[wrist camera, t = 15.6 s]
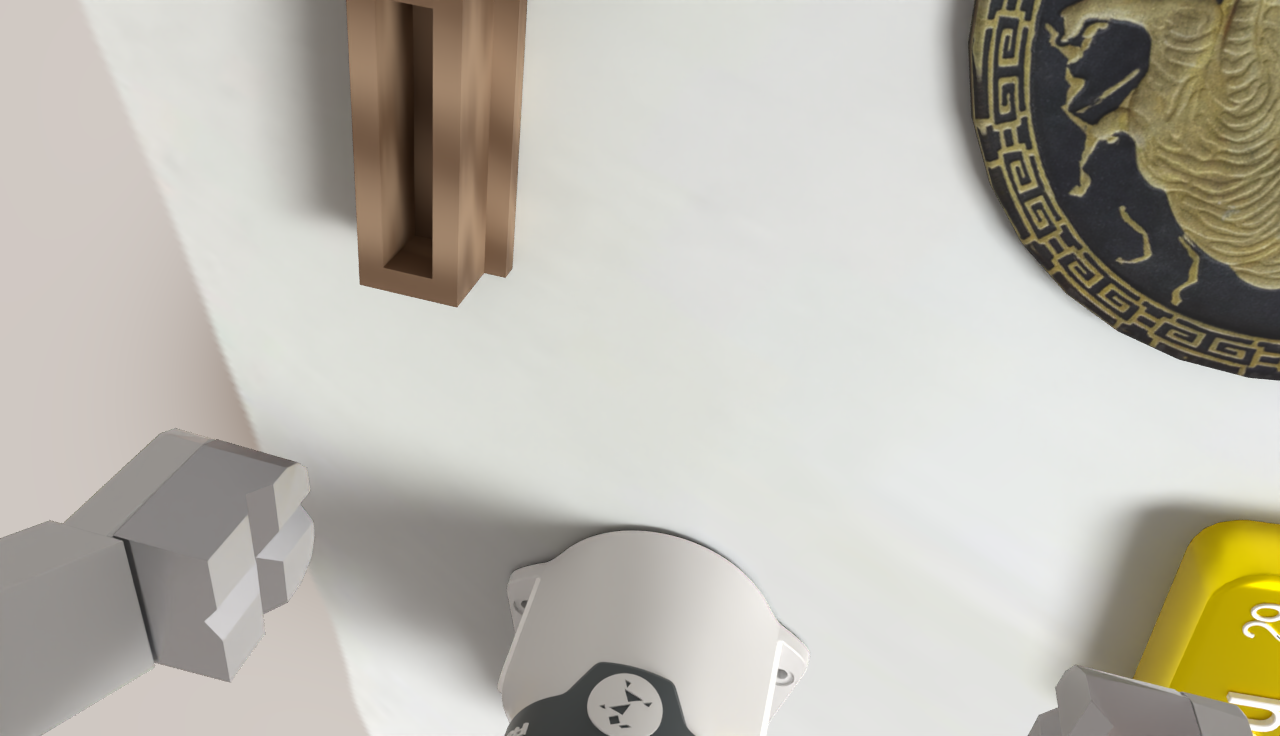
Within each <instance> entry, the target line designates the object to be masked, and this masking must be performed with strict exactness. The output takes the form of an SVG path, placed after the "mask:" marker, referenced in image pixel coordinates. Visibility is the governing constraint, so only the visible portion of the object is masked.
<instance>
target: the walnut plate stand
mask: <svg viewBox="0 0 1280 736" xmlns="http://www.w3.org/2000/svg"><path fill="white" fill-rule="evenodd" d="M346 7H347V28H348V49H349V70H350V90H351V111H352V132H353V153H354V174H355V194H356V215H357V236H358V257H359V277H360V285H364V286H368V287H372V288H377V289H381V290H385V291H389V292H394V293H398V294H402V295H406V296H411V297H415V298H419V299H423V300H428V301H432V302H436V303H440V304H445V305H449V306H453V307H458V305H459V304H460V303H461V302H462V300H463V299H464V298H465V297H466V295H467V294H468V293H469V292H470V290H471V289H472V288H473V286H474V285H475V284H476V283H477V281H478V280H479V279H480V278H481V276H482V275H483V274H484V273H487V274H491V275H495V276H500V277H504V278H506V276H507V275H508V274H509V272H510V271H511V270H512V265H513V247H514V229H515V211H516V193H517V175H518V157H519V139H520V121H521V103H522V86H523V68H524V50H525V32H526V14H527V0H346Z"/></svg>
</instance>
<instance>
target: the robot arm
mask: <svg viewBox="0 0 1280 736" xmlns="http://www.w3.org/2000/svg"><path fill="white" fill-rule="evenodd" d="M309 492H310V484H309V477H308V470H307V467H305V466H303V465H301V464H300V463H298V462H294V461H291V460H287V459H284V458H280V457H277V456H273V455H270V454H266V453H263V452H259V451H256V450H253V449H249V448H245V447H242V446H239V445H235V444H232V443H228V442H224V441H221V440H218V439H216V440H215V439H211V438H208V437H205V436H201V435H198V434H194V433H190V432H187V431H183V430H180V429H177V428H175V429H171V430H169V431H166V432H163V433H160V434H159V435H158V436H157V437H156V438H155V439H154V440H153V441H151V442H150V443H149V444H148V445H147V446H146V447H145V448H144V449H143V450H142V451H141V452H140V453H138V455H136V456H135V457H134V458H133V459H132V460H131V461H130V462H129V463H128V464H127V465H125V466H124V467H123V468H122V469H121V470H120V471H119V472H118V473H117V474H116V475H115V476H114V477H113V478H111V479H110V480H109V481H108V482H107V483H106V484H105V485H104V486H103V487H102V488H101V489H100V490H99V491H97V492H96V493H95V494H94V495H93V496H92V497H91V498H90V499H89V500H88V501H87V502H86V503H85V504H84V505H82V506H81V507H80V508H79V509H78V510H77V511H76V512H75V513H74V514H73V515H72V516H70V517H69V518H68V519H67V520H66V521H65V522H64V523H63V524H62V523H58V522H54V521H47V522H44V523H41V524H39V525H36V526H33V527H30V528H28V529H25V530H22V531H19V532H16V533H14V534H11V535H8V536H6V537H3V538H0V736H41V735H43V734H45V733H46V732H48V731H50V730H51V729H53V728H55V727H56V726H58V725H60V724H61V723H63V722H65V721H66V720H68V719H70V718H71V717H73V716H75V715H76V714H78V713H80V712H81V711H83V710H85V709H86V708H88V707H90V706H91V705H93V704H95V703H96V702H98V701H100V700H102V699H103V698H105V697H107V696H108V695H110V694H112V693H113V692H115V691H117V690H118V689H120V688H122V687H123V686H125V685H127V684H128V683H130V682H132V681H133V680H135V679H137V678H138V677H140V676H141V675H143V674H145V673H147V672H148V671H150V670H152V669H153V668H154V667H155V664H154V663H158V664H161V665H166V666H169V667H173V668H177V669H181V670H184V671H188V672H192V673H196V674H200V675H204V676H207V677H211V678H215V679H219V680H223V681H227V682H231V681H232V680H233V678H234V677H235V675H236V674H237V672H238V671H239V670H240V668H241V667H242V666H243V664H244V663H245V661H246V660H247V659H248V657H249V656H250V654H251V653H252V652H253V650H254V649H255V648H256V646H257V645H258V643H259V642H260V641H261V639H262V638H263V637H264V635H265V625H264V617H263V614H265V613H267V612H269V611H271V610H273V609H275V608H277V607H279V606H281V605H283V604H285V603H288V601H289V600H290V598H291V597H292V596H293V594H294V593H295V591H296V590H297V588H298V587H299V585H300V584H301V582H302V580H303V578H304V575H305V572H306V570H307V568H308V565H309V563H310V560H311V558H312V552H313V545H314V538H315V536H314V523H313V520H312V518H311V517H310V516H309V515H308V513H307V512H306V511H305V509H304V508H303V507H302V505H301V502H302V501H303V500H304V499H305V497H306V496H307V495H308V493H309ZM507 595H508V600H509V605H510V610H511V615H512V620H513V625H514V630H515V637H514V639H513V642H512V645H511V647H510V650H509V653H508V655H507V658H506V661H505V663H504V666H503V669H502V672H501V674H500V677H499V681H498V687H497V689H498V691H499V692H500V693H501V694H502V704H503V708H504V711H505V714H506V716H507V718H508V721H509V723H510V724H509V726H508V728H507V731H506V733H505V736H766V732H767V727H768V724H769V723H770V721H771V720H772V718H773V717H774V716H775V714H776V713H777V711H778V710H779V709H780V707H781V706H782V704H783V703H784V702H785V700H786V699H787V698H788V696H789V695H790V693H791V692H792V691H793V689H794V688H795V686H796V685H797V684H798V682H799V681H800V680H801V678H802V677H803V675H804V674H805V672H806V670H807V667H808V663H809V659H810V652H809V650H808V648H807V647H806V646H805V645H804V644H803V642H801V641H800V640H799V639H798V638H797V637H796V636H795V635H793V634H792V633H791V632H790V631H789V630H787V629H786V628H785V627H783V626H782V625H781V624H780V623H779V622H778V620H777V619H776V618H775V616H774V614H773V613H772V611H771V609H770V607H769V605H768V603H767V602H766V600H765V598H764V596H763V595H762V593H761V592H760V591H759V589H758V588H757V587H756V585H755V584H754V583H753V582H752V581H751V580H750V579H749V578H748V577H747V576H746V575H745V574H744V573H743V572H742V571H741V570H740V569H739V568H737V567H736V566H735V565H733V564H732V563H731V562H729V561H728V560H726V559H725V558H724V557H722V556H720V555H719V554H717V553H715V552H713V551H711V550H709V549H707V548H705V547H703V546H701V545H699V544H696V543H694V542H691V541H688V540H685V539H682V538H679V537H676V536H672V535H667V534H663V533H657V532H649V531H615V532H608V533H603V534H599V535H595V536H592V537H589V538H587V539H584V540H582V541H580V542H578V543H576V544H574V545H573V546H571V547H569V548H568V549H567V550H565V551H564V552H563V553H562V554H560V555H559V556H558V557H556V558H554V559H553V560H551V561H549V562H546V563H540V564H535V565H530V566H526V567H522V568H520V569H517V570H515V571H514V572H513V573H512V574H511V576H510V579H509V583H508V586H507ZM1055 690H1056V696H1057V703H1058V708H1055V709H1053V710H1050V711H1048V712H1045V713H1043V714H1041V715H1039V716H1038V718H1037V719H1036V721H1035V723H1034V725H1033V727H1032V729H1031V731H1030V733H1029V734H1028V736H1253V733H1252V731H1251V728H1250V725H1249V722H1248V719H1247V717H1246V715H1245V714H1244V713H1243V712H1242V711H1241V709H1240V708H1239V707H1238V706H1237V705H1234V704H1230V703H1226V702H1222V701H1218V700H1214V699H1210V698H1206V697H1202V696H1198V695H1194V694H1190V693H1186V692H1178V691H1176V690H1174V689H1171V688H1167V687H1163V686H1159V685H1155V684H1151V683H1147V682H1143V681H1139V680H1135V679H1131V678H1127V677H1123V676H1119V675H1115V674H1111V673H1107V672H1103V671H1099V670H1095V669H1091V668H1087V667H1083V666H1079V665H1074V666H1073V667H1071V668H1070V669H1068V670H1067V671H1065V673H1064V674H1063V676H1062V677H1061V679H1060V681H1059V682H1058V684H1057V686H1056V687H1055Z"/></svg>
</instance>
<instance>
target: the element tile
mask: <svg viewBox="0 0 1280 736" xmlns="http://www.w3.org/2000/svg"><path fill="white" fill-rule="evenodd" d="M1133 679H1135V680H1139V681H1143V682H1147V683H1151V684H1155V685H1159V686H1163V687H1167V688H1171V689H1174V690H1176V691H1178V692H1186V693H1190V694H1194V695H1198V696H1202V697H1206V698H1210V699H1214V700H1218V701H1222V702H1226V703H1230V704H1234V705H1237V706H1238V707H1239V708H1240V709H1241V711H1242V712H1243V713H1244V714H1245V715H1246V717H1247V719H1248V722H1249V725H1250V728H1251V731H1252V733H1253V736H1280V524H1273V523H1265V522H1258V521H1251V520H1234V521H1227V522H1219V523H1216V524H1214V525H1212V526H1209V527H1207V528H1205V529H1203V530H1202V531H1201V532H1200V533H1199V534H1198V535H1196V536H1195V537H1194V538H1193V539H1192V541H1191V542H1190V544H1189V545H1188V547H1187V549H1186V552H1185V554H1184V557H1183V559H1182V561H1181V564H1180V566H1179V569H1178V571H1177V573H1176V576H1175V578H1174V581H1173V583H1172V585H1171V588H1170V590H1169V593H1168V595H1167V597H1166V600H1165V602H1164V605H1163V607H1162V610H1161V612H1160V614H1159V617H1158V619H1157V622H1156V624H1155V626H1154V629H1153V631H1152V634H1151V636H1150V638H1149V641H1148V643H1147V646H1146V648H1145V650H1144V653H1143V655H1142V658H1141V660H1140V663H1139V665H1138V667H1137V670H1136V672H1135V675H1134V677H1133Z"/></svg>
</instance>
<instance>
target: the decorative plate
mask: <svg viewBox="0 0 1280 736" xmlns="http://www.w3.org/2000/svg"><path fill="white" fill-rule="evenodd" d="M968 49H969V71H970V93H971V115H972V119H973V123H974V127H975V131H976V134H977V138H978V142H979V145H980V149H981V153H982V157H983V160H984V164H985V168H986V172H987V175H988V179H989V182H990V185H991V187H992V189H993V190H994V192H995V194H996V196H997V198H998V200H999V202H1000V204H1001V205H1002V207H1003V209H1004V211H1005V213H1006V215H1007V217H1008V219H1009V220H1010V222H1011V224H1012V226H1013V228H1014V230H1015V232H1016V233H1017V235H1018V237H1019V239H1020V241H1021V242H1022V244H1023V245H1024V246H1025V247H1026V248H1027V249H1028V251H1029V252H1030V253H1031V254H1032V255H1033V256H1034V257H1035V259H1036V260H1037V261H1038V262H1039V263H1040V264H1041V265H1042V266H1043V268H1044V269H1045V270H1046V271H1047V272H1048V273H1049V274H1050V276H1051V277H1052V278H1053V279H1054V280H1055V281H1056V282H1057V283H1058V285H1059V286H1060V287H1061V288H1062V289H1063V290H1064V291H1065V293H1066V294H1068V295H1069V296H1071V297H1072V298H1073V299H1075V300H1076V301H1077V302H1079V303H1080V304H1081V305H1083V306H1084V307H1086V308H1087V309H1088V310H1090V311H1091V312H1092V313H1094V314H1095V315H1096V316H1098V317H1099V318H1101V319H1102V320H1103V321H1105V322H1106V323H1107V324H1109V325H1110V326H1111V327H1113V328H1114V329H1116V330H1117V331H1119V332H1121V333H1123V334H1125V335H1127V336H1129V337H1132V338H1134V339H1136V340H1138V341H1140V342H1142V343H1144V344H1147V345H1149V346H1151V347H1153V348H1155V349H1157V350H1160V351H1162V352H1164V353H1166V354H1168V355H1170V356H1173V357H1175V358H1177V359H1179V360H1183V361H1187V362H1191V363H1195V364H1198V365H1202V366H1206V367H1210V368H1214V369H1218V370H1221V371H1225V372H1229V373H1233V374H1237V375H1241V376H1244V377H1248V378H1258V379H1269V380H1279V381H1280V0H975V2H974V9H973V15H972V22H971V28H970V34H969V41H968Z"/></svg>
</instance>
